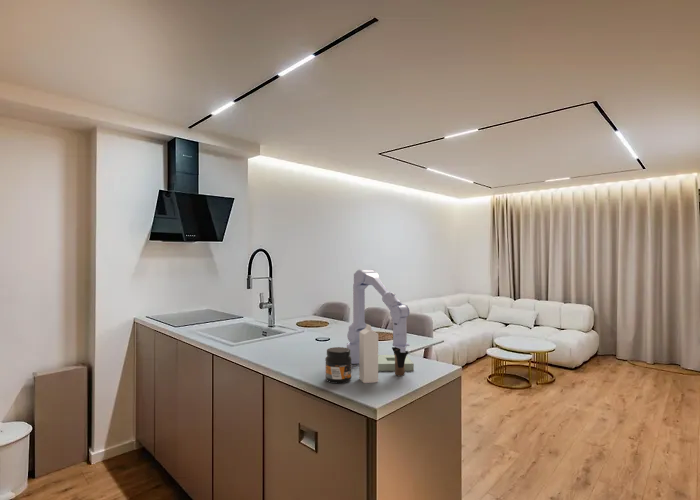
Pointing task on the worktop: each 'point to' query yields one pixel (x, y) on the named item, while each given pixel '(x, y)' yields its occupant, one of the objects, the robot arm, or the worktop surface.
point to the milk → (368, 355)
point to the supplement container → (338, 365)
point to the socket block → (392, 363)
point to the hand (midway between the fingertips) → (399, 365)
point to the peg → (399, 370)
